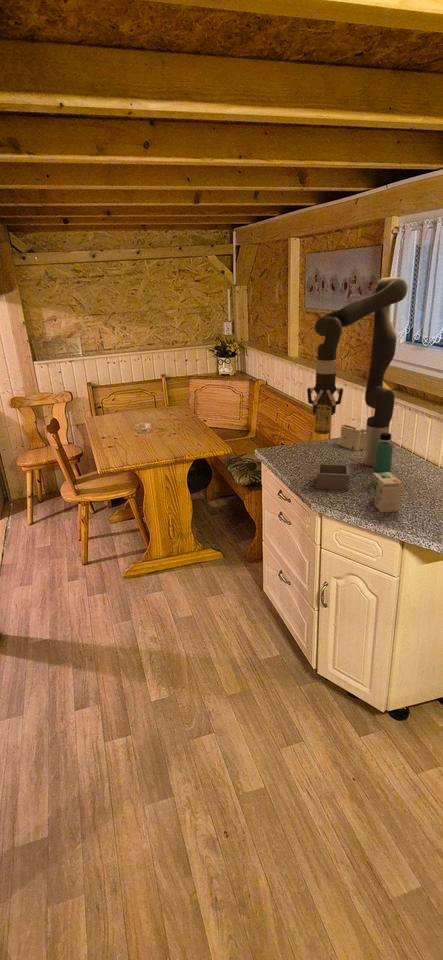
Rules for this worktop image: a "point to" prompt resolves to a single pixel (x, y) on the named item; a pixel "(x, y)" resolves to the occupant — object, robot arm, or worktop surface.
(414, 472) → the worktop surface
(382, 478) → the light bulb box
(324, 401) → the sauce bottle
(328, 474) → the bottle holder
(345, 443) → the hinge
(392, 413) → the robot arm
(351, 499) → the worktop surface
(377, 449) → the beverage bottle
